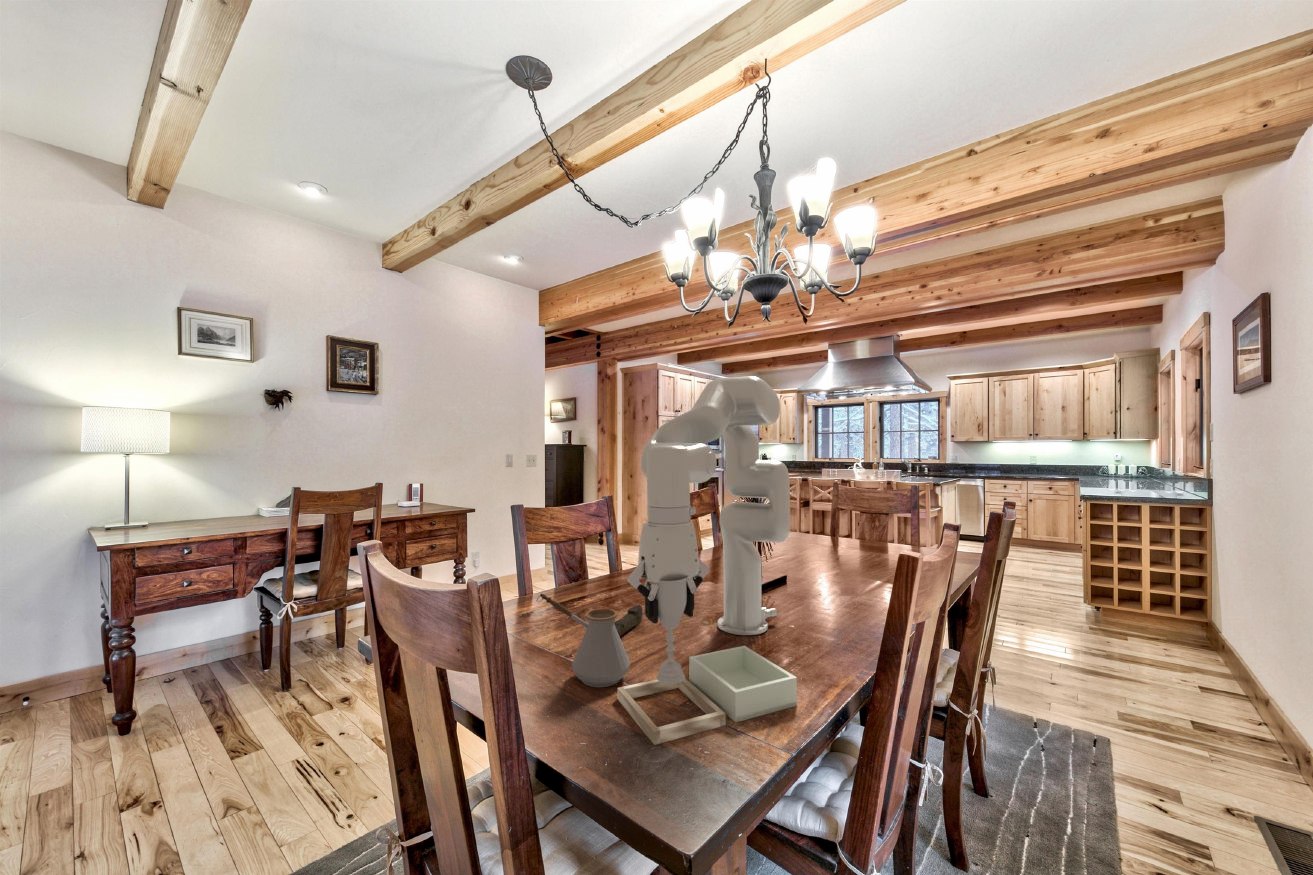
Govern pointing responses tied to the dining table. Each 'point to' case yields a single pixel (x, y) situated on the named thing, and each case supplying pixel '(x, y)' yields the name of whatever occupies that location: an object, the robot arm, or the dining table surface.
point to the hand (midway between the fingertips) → (670, 616)
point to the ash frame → (673, 730)
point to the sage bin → (742, 682)
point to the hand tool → (629, 620)
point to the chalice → (671, 624)
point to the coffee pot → (598, 648)
